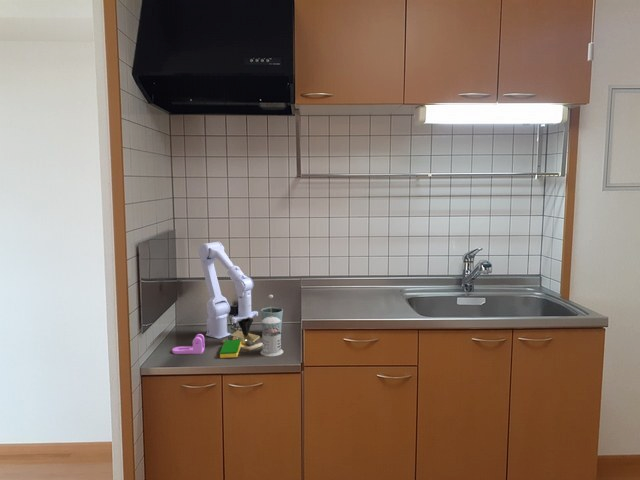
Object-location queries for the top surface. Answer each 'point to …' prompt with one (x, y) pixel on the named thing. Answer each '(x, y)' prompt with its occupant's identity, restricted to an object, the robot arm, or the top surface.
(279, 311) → the drinking glass
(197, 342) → the bracket
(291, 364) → the top surface
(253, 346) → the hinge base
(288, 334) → the top surface
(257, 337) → the strip
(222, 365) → the top surface
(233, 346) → the dish sponge
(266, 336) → the french press
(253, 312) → the robot arm
